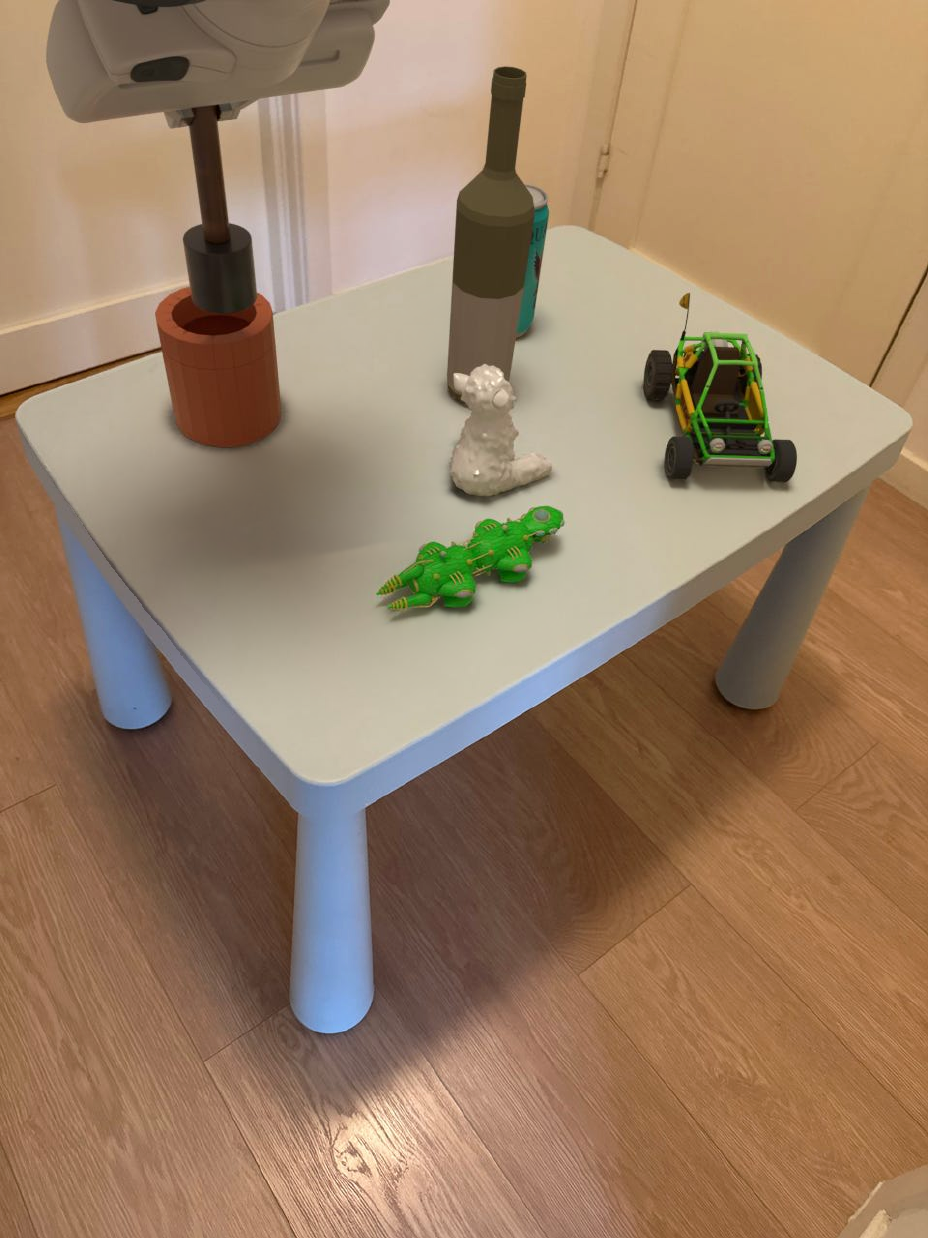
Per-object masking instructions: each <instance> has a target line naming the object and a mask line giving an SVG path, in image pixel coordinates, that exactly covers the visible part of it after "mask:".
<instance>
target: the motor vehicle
mask: <svg viewBox="0 0 928 1238" xmlns="http://www.w3.org/2000/svg"><path fill="white" fill-rule="evenodd" d="M690 302H691V292H687V293H685V294H684V295H683V296H682V297H681V298H680V299H679V301H678V305H679V306H680V307H681V308H683V309H685V310H687V312H686V318H685V324H684V325H685V326H684V329H683V331H681V332H682V333H681V336H680V338H679V342H678V345H677V347H676V349H675V351H674V353H673V354H672V355H673V356H672V355H671V353H670V351H668V350H664V349H651V351H650V352H649V353H648V356H647V357H646V361H645V365H644V370H643V389H644V390H643V391H644V394H645V396H646V398H647V400H658V401H659V400H664V399H665V398H666V397H667V396H668V394H669V392H670V389H671V390H672V394H673V399H674V403H675V410H676V413H677V414H676V415H677V417H678V421H679V423H680V426H681V430H682V432H683V433H684V434H685V436H679V435H677V436H676V435H673V436H671V437H670V439H668V442H667V444H666V447H665V452H664V470H665V475H666V476H667V478H668V479H669V480H678V481H679V480H682V481H683V480H684V481H686V480H687V479H688V478H689V477H690V476H691V474H692V472H693V468H694V465H695V464H694V463H696V464H697V465H698V466H699V467H719V468H720V467H721V468H722V467H723V468H724V467H725V468H754V469H755V468H756V469H759V468H760V469H763V473H764V476H765V478H766V479H767V481H768V482H770V483H788V482H789V481H790V480H791V479H792V478H793V476H794V474H795V472H796V468H797V464H798V463H797V462H798V452H797V448H796V445H795V443H794V442H793V441H792V440H791V439H776V438H775V439H773V437H772V433H771V428H770V423H769V415H768V407H767V403H766V397H765V391H764V386H763V382H762V380H763V367H762V366H763V365H762V362H761V358H760V356H759V354H756V352H755V350H754V348H753V346H752V343H751V342H750V339H749V335H748V333H731V332H729V333H728V332H727V333H726V332H719V331H718V330H710V331H709V332H707V331H704V332H703V333H702V336H686V334H687V331H686V330H687V324H688V321H689V313H690V304H691V303H690ZM686 341H687V342H688V341H690V342H691V341H692V342H696V341H697V342H699V341H700V342H699V343H693V344H690V345H687V346H685V342H686ZM737 341H741V344H740V345H739V342H737ZM728 343H730V344H732V346H729V344H728ZM763 435H764V436H763Z"/></svg>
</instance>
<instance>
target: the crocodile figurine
mask: <svg viewBox="0 0 928 1238" xmlns="http://www.w3.org/2000/svg"><path fill="white" fill-rule="evenodd" d="M565 523H566V521H565V520H564V513H563V511H562V510H560V509H557V508H556V507H555V508H554V507H553V506H549V505H540V506H536V507H530V508H529V509H528V512H526V513H522V515H521V516H520V517H519V518H517V519H514V520H512V519H511V518H510V517H507V518H506V522H502V523H501V522H499V521H497V520H496V519H493V518H486V519H483V520H479V521H478V522H476V523H475V525H474V531H473V532H472V537H471V538H469V539H467V540H464V541H462V542H459V543H456V542H455V540H451V544H450V545H451V546H449V547H447V546H445V545H443V544H442V543H439V542H437V541H430V542H428V543H424V544H422V545H421V546H420V547H419V548H418V554H417V556H416V558H415V561H414V562H413V563H412V564H410V565H409V566H407V567H406V568H405V569H403V571H401V572H399V574H396V573H395V574H393V576H392V577H390V579H388V580H387V581H386V582H385V583H384V584H383V586H380V588H379V589H378V591H377V592H376V593H375V595H376V596H379V595H380V596H387V595H390V594H395V592H396V591H397V590H401V589H403V588H406V587H408V590H410V592H412V595H410V596H408V597H405V596H403V597H401V599H400V598H398V599H397V600H395V601H393V602H391V603H390V605H389V606H387V607H386V609H388V610H390V609H391V610H393V611H394V610H395V611H402V610H404V611H407V609H408V608H414V609H416V608H430V607H432V606H433V605H434V604H435V603H436V602H437V601H438V600H439V599H440V598H441V597H442V598H443V601H444V607H448V608H464V607H467V606H468V605H470V604H471V602H472V600H473V597H472V595H474V594H475V593H476V590H477V587H476V586H477V585H476V582H475V580H474V578H475V577H477V576H481V575H482V574H486V575H487V576H491V575H492V571H493V570H496V571H497V573H498V575H499V582H502V583H503V582H504V583H519V582H522V581H523V580H524V579H525V578H526V575H527V572H526V571H527V570H531V568H532V566H533V560H532V558H531V555H530V550H531V549H532V548H533V545H534V542H535V543H541V544H547V543H548V542H549V540H548V539H549V538H550V537H551V536H554V535H556V533H558V532H559V530H560V529H561V528H562V527H564V526H565ZM465 543H467V544H465ZM476 573H477V574H476ZM438 595H439V596H438Z"/></svg>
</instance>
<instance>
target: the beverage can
mask: <svg viewBox="0 0 928 1238" xmlns="http://www.w3.org/2000/svg"><path fill="white" fill-rule="evenodd" d="M524 185H525V186H526V188H527V189H528V191H529V192H530V194H531V195H532V196H533V202H534V211H535V218H534V224H533V231H532V237H531V244H530V250H529V257H528V263H527V269H526V276H525V282H524V289H523V295H522V302H521V308H520V315H519V321H518V327H517V334H516V339H518V338H520V337H522V336H523V335H524V334H526V333H527V331H528V329H529V328H530V326H531V324H532V323H533V320H534V317H535V311H536V305H537V297H538V291H539V285H540V279H541V278H540V277H541V271H542V265H543V258H544V253H545V252H544V250H545V245H546V238H547V231H548V225H549V217H550V209H549V205H548V203H549V195H548V193H547V192H546V190H544V189H542V188H541V187H539V186H537V185H534V184H529V183H524Z"/></svg>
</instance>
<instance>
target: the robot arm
mask: <svg viewBox="0 0 928 1238" xmlns="http://www.w3.org/2000/svg"><path fill="white" fill-rule="evenodd" d="M390 3H391V0H58V1H57V2H56V4H55V5H54V9H53V13H52V15H51V20H50V24H49V28H48V33H47V41H46V49H45V51H46V52H45V62H46V68H47V72H48V75H49V78H50V80H51V81H50V82H51V84H52V86H53V89H54V92H55V95H56V97H57V99H58V102H59V105H60V107H61V109H62V111H63V113H64V115H65V116H66V117H67V118H68V119H69V120H72V121H74V122H76V123H79V124H90V123H95V122H103V121H109V120H116V119H124V118H130V117H138V116H144V115H152V114H158V113H163V115H164V117H165V120H166V123H167V126H168V128H169V129H170V130H171V129H179V128H184V127H189V126H191V124H192V123H191V121H193V119H194V113H193V110H192V108H196V107H203V106H210V105H216V113H217V122H224V121H233V120H238V117H239V115H240V112H241V111H242V110H244V109H246V108H247V107H249V106H250V105H252V104H254V103H256V102H257V101H259V100H260V99H266V98H273V97H274V98H275V97H281V96H288V95H289V96H290V95H294V94H295V95H297V94H303V93H311V92H316V91H317V92H318V91H323V90H331V89H340V88H344V87H345V86H348V85H349V84H352V83H354V82H355V81H356V80H357V79H359V78H360V77H361V75H362V73H363V71H364V70H365V67H366V66H367V63H368V61H369V58H370V56H371V54H372V50H373V46H374V44H375V40H376V31H375V28H374V26H375V25H376V24H377V23H378V22H379V21H380V20H381V19H382V18H383V16H384V14H385V13H386V11H387V10H388V8H389V6H390Z"/></svg>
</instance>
